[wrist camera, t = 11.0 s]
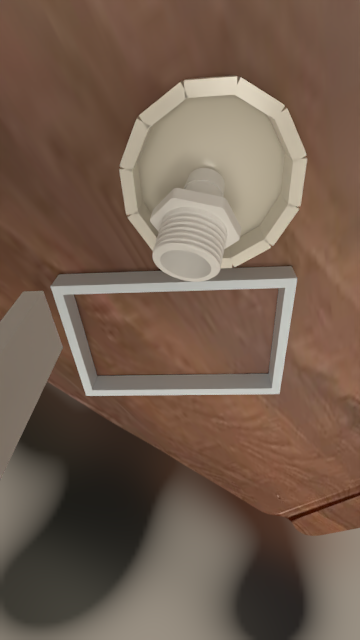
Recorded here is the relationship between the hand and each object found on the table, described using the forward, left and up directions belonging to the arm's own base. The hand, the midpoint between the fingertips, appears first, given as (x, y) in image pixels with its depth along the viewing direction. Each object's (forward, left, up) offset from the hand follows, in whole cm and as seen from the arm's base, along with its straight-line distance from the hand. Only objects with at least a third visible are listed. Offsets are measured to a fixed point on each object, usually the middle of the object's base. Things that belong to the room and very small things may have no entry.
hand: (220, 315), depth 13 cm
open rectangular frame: (+17, -4, -21) cm, 27 cm away
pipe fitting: (0, 0, -19) cm, 19 cm away
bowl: (0, 0, -21) cm, 21 cm away
